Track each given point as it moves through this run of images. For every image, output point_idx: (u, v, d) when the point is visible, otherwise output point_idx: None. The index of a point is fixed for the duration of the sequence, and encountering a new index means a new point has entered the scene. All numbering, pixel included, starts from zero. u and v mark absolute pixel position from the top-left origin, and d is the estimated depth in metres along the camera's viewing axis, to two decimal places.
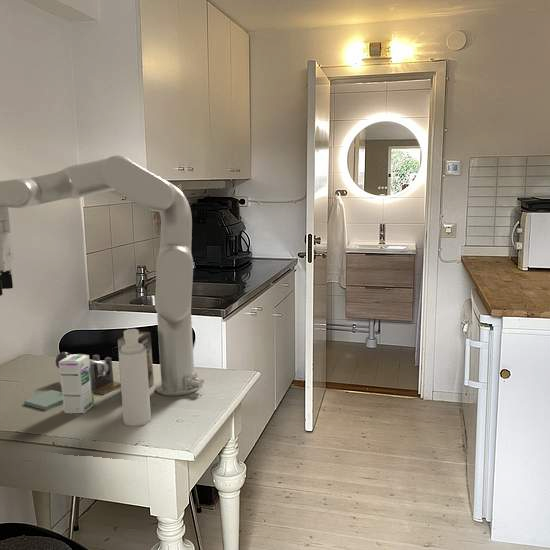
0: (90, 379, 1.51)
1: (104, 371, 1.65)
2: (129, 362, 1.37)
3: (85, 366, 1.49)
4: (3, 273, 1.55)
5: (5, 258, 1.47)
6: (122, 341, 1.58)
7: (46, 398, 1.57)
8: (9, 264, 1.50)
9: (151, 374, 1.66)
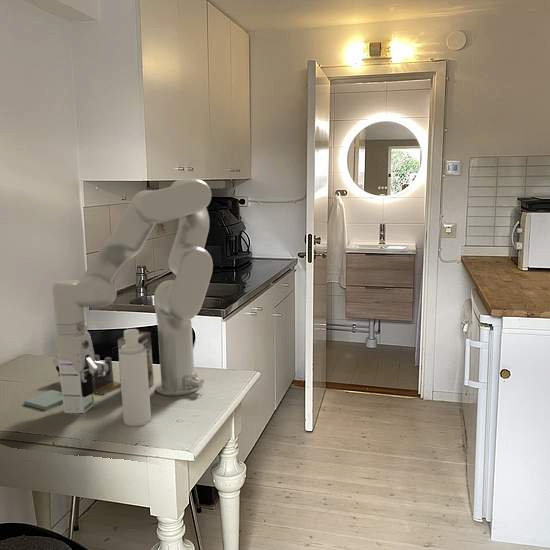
0: None
1: (104, 371, 1.65)
2: (129, 362, 1.37)
3: None
4: None
5: None
6: (122, 341, 1.58)
7: (46, 398, 1.57)
8: None
9: (151, 374, 1.66)
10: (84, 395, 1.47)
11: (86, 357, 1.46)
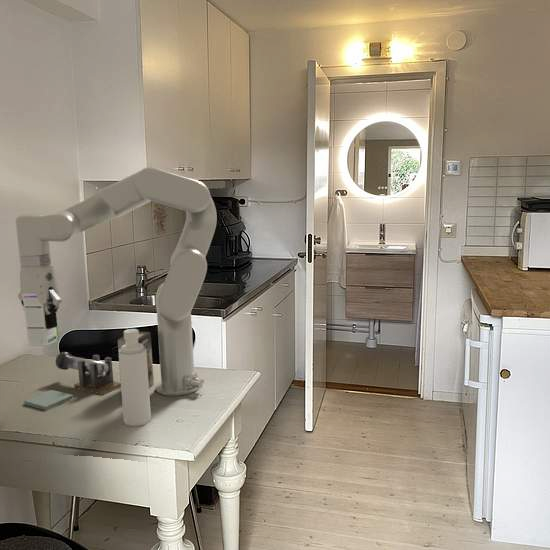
0: None
1: (104, 371, 1.65)
2: (129, 362, 1.37)
3: None
4: None
5: None
6: (122, 341, 1.58)
7: (46, 398, 1.57)
8: None
9: (151, 374, 1.66)
10: (48, 327, 1.50)
11: (49, 289, 1.49)
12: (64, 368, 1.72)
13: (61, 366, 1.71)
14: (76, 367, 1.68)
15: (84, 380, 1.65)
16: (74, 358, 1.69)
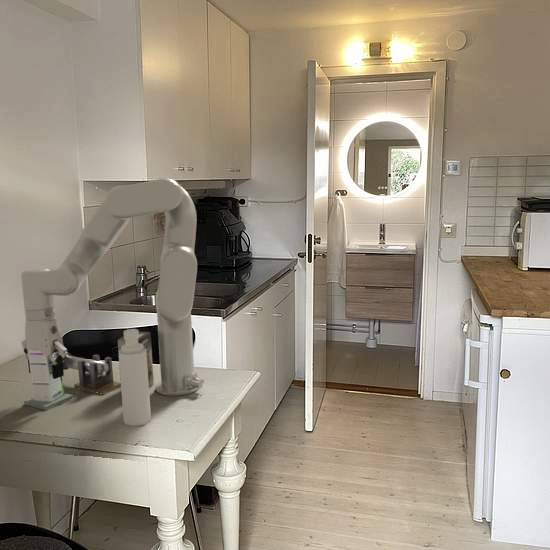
0: None
1: (104, 371, 1.65)
2: (129, 362, 1.37)
3: None
4: None
5: None
6: (122, 341, 1.58)
7: None
8: None
9: (151, 374, 1.66)
10: (54, 377, 1.52)
11: (54, 341, 1.51)
12: (64, 368, 1.72)
13: None
14: (76, 367, 1.68)
15: (84, 380, 1.65)
16: (74, 358, 1.69)
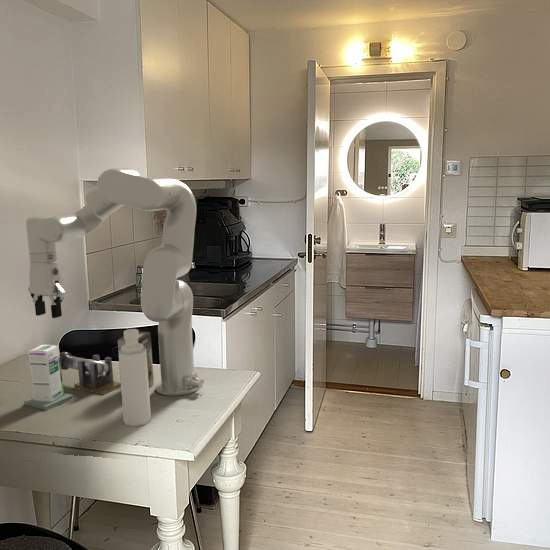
0: (59, 369, 1.57)
1: (104, 371, 1.65)
2: (129, 362, 1.37)
3: (54, 356, 1.54)
4: (39, 300, 1.73)
5: None
6: (122, 341, 1.58)
7: None
8: None
9: (151, 374, 1.66)
10: (53, 316, 1.70)
11: (55, 283, 1.68)
12: (64, 368, 1.72)
13: (61, 366, 1.71)
14: (76, 367, 1.68)
15: (84, 380, 1.65)
16: (74, 358, 1.69)
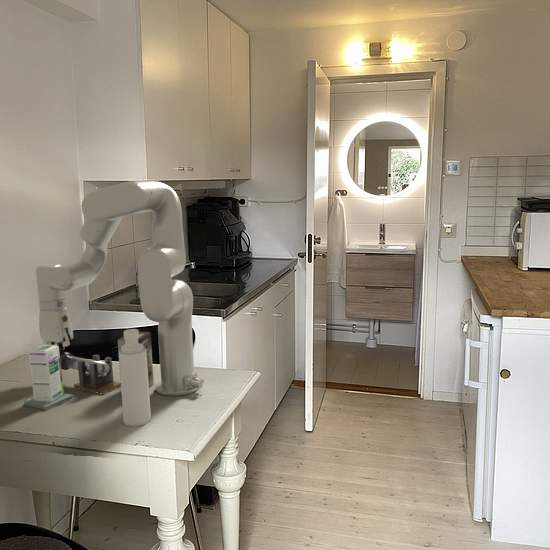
0: (59, 369, 1.57)
1: (105, 372, 1.64)
2: (129, 362, 1.37)
3: (54, 356, 1.54)
4: None
5: None
6: (122, 341, 1.58)
7: None
8: None
9: (151, 374, 1.66)
10: None
11: (64, 332, 1.70)
12: (65, 368, 1.72)
13: (62, 366, 1.71)
14: (77, 367, 1.68)
15: (84, 380, 1.65)
16: (75, 358, 1.69)
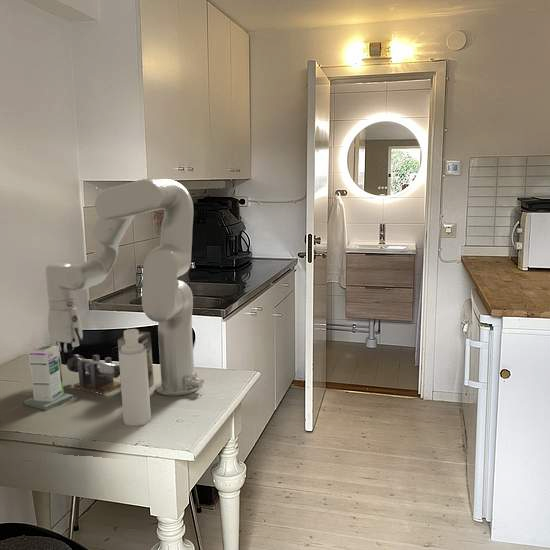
0: (59, 369, 1.57)
1: (117, 374, 1.62)
2: (129, 362, 1.37)
3: (54, 356, 1.54)
4: (64, 347, 1.71)
5: None
6: (122, 341, 1.58)
7: None
8: None
9: (151, 374, 1.66)
10: (65, 363, 1.71)
11: (74, 332, 1.68)
12: (75, 370, 1.69)
13: (72, 368, 1.68)
14: (88, 370, 1.65)
15: (84, 380, 1.65)
16: (86, 360, 1.67)
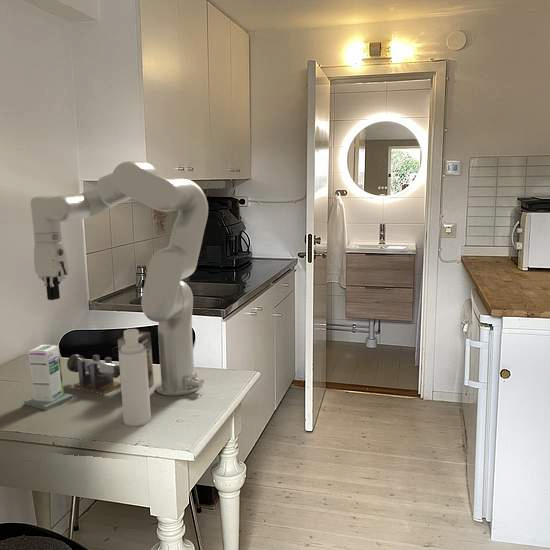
0: (59, 369, 1.57)
1: (117, 374, 1.62)
2: (129, 362, 1.37)
3: (54, 356, 1.54)
4: None
5: None
6: (122, 341, 1.58)
7: None
8: None
9: (151, 374, 1.66)
10: (51, 298, 1.69)
11: (59, 266, 1.66)
12: (75, 370, 1.69)
13: (72, 368, 1.68)
14: (88, 370, 1.65)
15: (84, 380, 1.65)
16: (86, 360, 1.67)
